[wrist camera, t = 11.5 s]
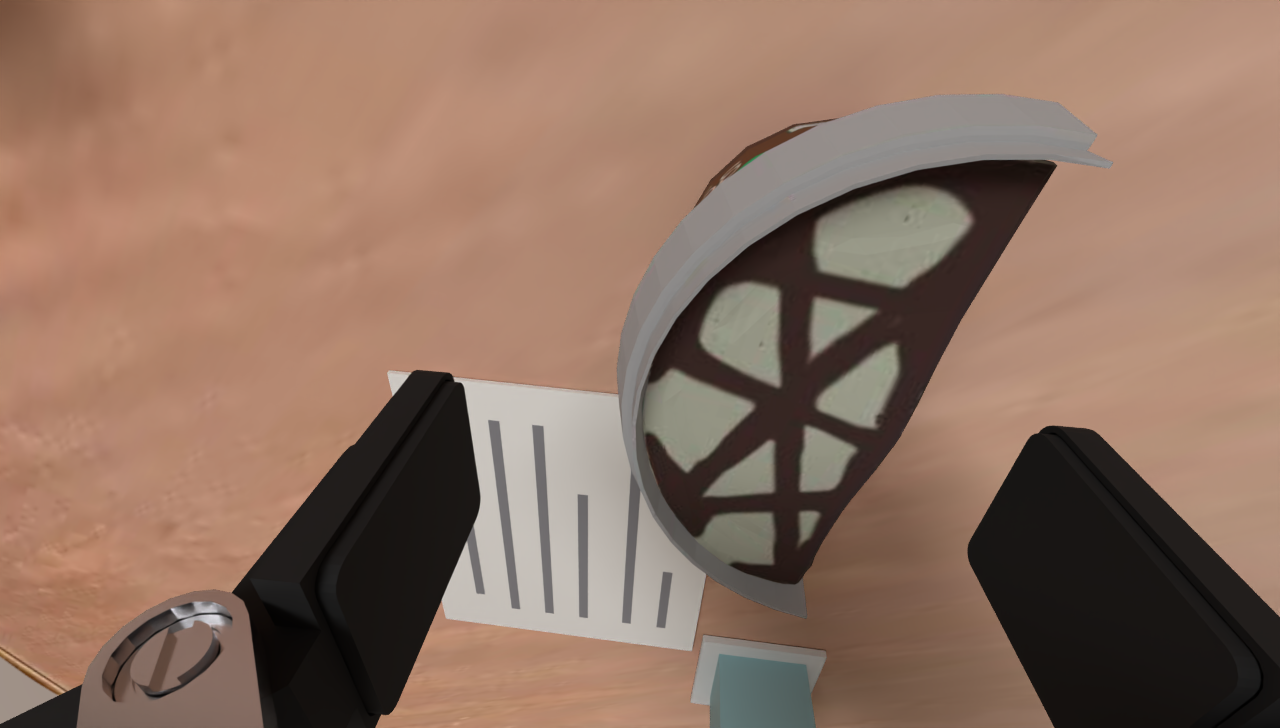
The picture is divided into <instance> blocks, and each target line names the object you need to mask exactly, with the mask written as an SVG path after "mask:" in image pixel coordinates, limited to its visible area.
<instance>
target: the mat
mask: <svg viewBox="0 0 1280 728" xmlns="http://www.w3.org/2000/svg"><path fill="white" fill-rule="evenodd" d="M719 654H725V655H733V656H741V657H749V658H757V659H765V660H773V661H781V662H789V663H796V664H804V665H806V667H807V673H808V680H809V686H810V693H812V691H813V688H814V686H815V684H816V681H817V679H818V677H819V674H820V672H821V670H822V668H823V665H824V663H825V661H826V658H827V656H826V651H824V650H816V649H808V648H801V647H793V646H785V645H778V644H770V643H763V642H755V641H747V640H740V639H732V638H724V637H717V636H709V635H703V638H702V643H701V648H700V653H699V658H698V663H697V668H696V673H695V678H694V683H693V688H692V693H691V703H696V704H703V705H710V695H711V690H712V685H713V681H714V676H715V671H716V666H717V662H718V657H719Z"/></svg>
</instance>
